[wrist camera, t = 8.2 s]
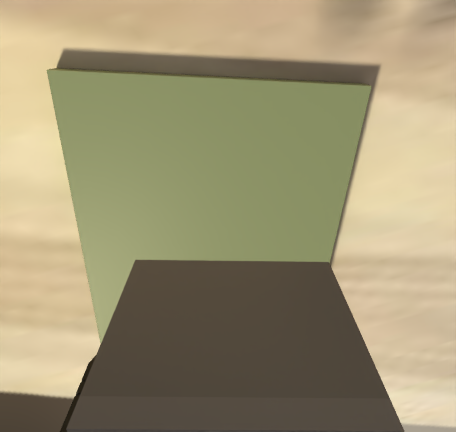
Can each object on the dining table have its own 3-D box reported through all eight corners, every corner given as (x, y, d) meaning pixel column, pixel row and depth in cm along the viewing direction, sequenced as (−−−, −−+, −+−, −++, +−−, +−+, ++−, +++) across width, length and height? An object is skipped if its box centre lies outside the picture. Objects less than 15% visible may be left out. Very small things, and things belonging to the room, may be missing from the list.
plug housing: (135, 259, 10) (65, 429, 6) (328, 261, 10) (404, 430, 6) (155, 397, 14) (121, 571, 9) (301, 398, 14) (336, 571, 9)
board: (55, 68, 21) (46, 69, 20) (364, 83, 22) (371, 86, 21) (104, 333, 33) (100, 344, 31) (306, 340, 33) (309, 350, 32)
